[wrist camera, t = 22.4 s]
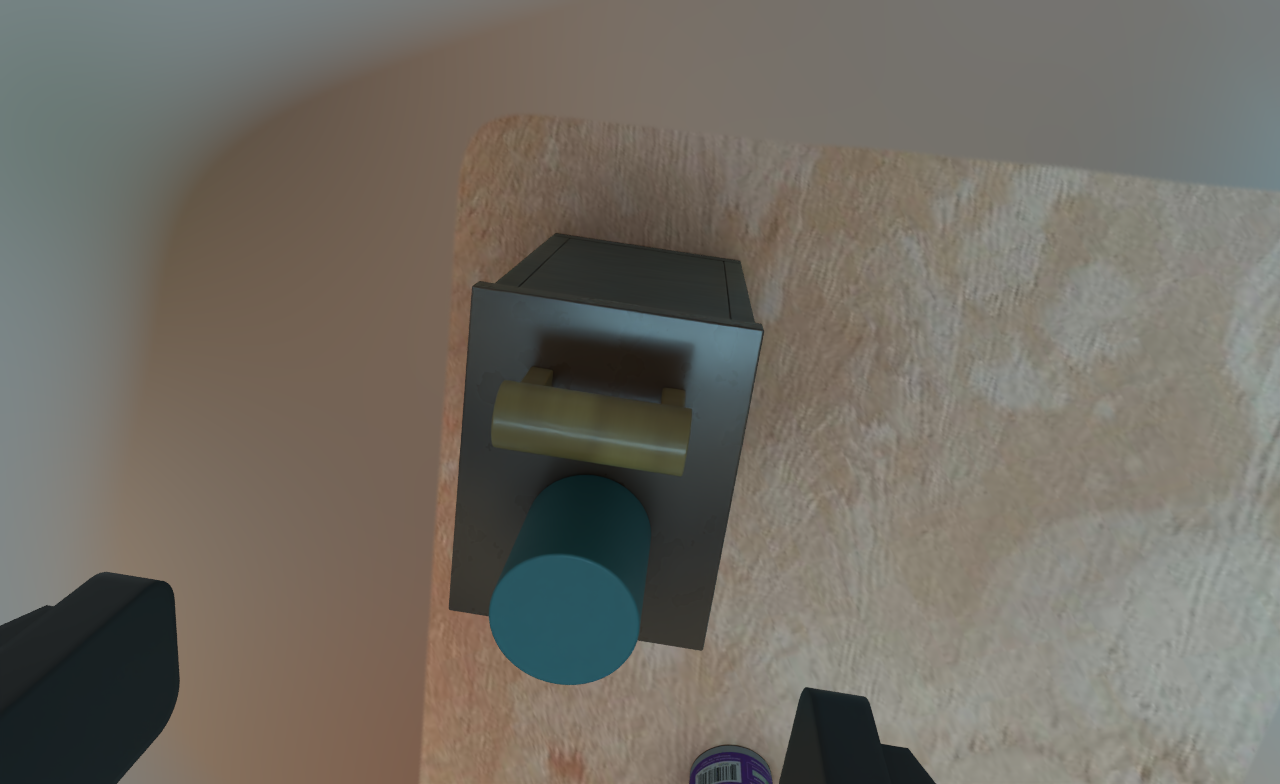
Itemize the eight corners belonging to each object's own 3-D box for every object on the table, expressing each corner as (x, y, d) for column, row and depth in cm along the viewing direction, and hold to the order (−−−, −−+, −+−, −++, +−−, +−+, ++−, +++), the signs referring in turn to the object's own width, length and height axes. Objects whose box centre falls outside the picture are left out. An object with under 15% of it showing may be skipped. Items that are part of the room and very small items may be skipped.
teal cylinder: (575, 449, 26) (546, 525, 21) (676, 524, 26) (671, 615, 21) (502, 538, 27) (459, 629, 22) (601, 608, 27) (579, 711, 23)
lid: (478, 280, 25) (426, 319, 20) (762, 323, 25) (776, 372, 20) (454, 597, 29) (405, 693, 24) (703, 637, 28) (702, 742, 24)
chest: (554, 232, 38) (477, 296, 25) (740, 260, 38) (759, 339, 25) (533, 444, 42) (455, 596, 29) (703, 470, 41) (703, 636, 28)
